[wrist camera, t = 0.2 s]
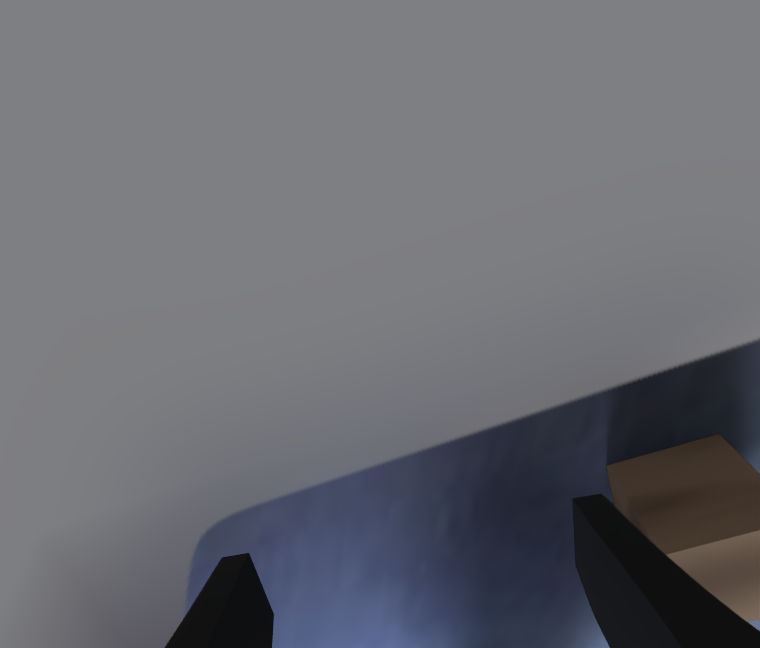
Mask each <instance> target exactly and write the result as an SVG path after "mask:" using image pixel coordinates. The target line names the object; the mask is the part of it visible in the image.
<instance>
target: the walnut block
mask: <svg viewBox="0 0 760 648" xmlns="http://www.w3.org/2000/svg"><path fill="white" fill-rule="evenodd" d="M606 467H607V472H608V477H609V483H610V488H611V493H612V498H613V503H614V506H615V507H616V508H617V509H618V510H619V511H620V512H621V513H622V514H623V515H624V516H625V517H626V518H627V519H628V520H629V521H630V522H631V523H632V524H633V525H634V526H635V527H636V528H638V529H639V530H640V531H641V532H642V533H643V534H644V535H645V536H646V537H647V538H648V539H649V540H650V541H651V542H652V543H654V544H655V545H656V546H657V547H658V548H659V549H660V550H661V551H662V552H663V553H664V554H666V555H667V556H668V557H669V558H670V559H671V560H672V561H674V562H675V563H676V564H677V565H678V566H679V567H681V568H682V569H683V570H684V571H685V572H686V573H687V574H689V575H690V576H691V577H692V578H693V579H694V580H696V581H697V582H698V583H699V584H700V585H701V586H703V587H704V588H705V589H706V590H707V591H709V592H710V593H711V594H712V595H714V596H715V597H716V598H717V599H719V600H720V601H721V602H722V603H724V604H725V605H726V606H727V607H729V608H730V609H731V610H732V611H734V612H735V613H736V614H738V615H739V616H740V617H741V618H743V619H744V620H745V621H747V622H749V621H753V620H757V619H760V474H759V473H758V472H757V471H756V470H755V469H754V468H753V467H752V466H751V465H750V464H749V463H748V462H747V461H746V460H745V459H744V458H743V457H742V456H741V455H740V454H739V453H738V452H737V451H736V450H735V449H734V448H733V447H732V446H731V445H730V444H729V443H728V442H727V441H726V440H725V439H724V438H723V437H722V436H721V435H720V434H717V435H713V436H710V437H706V438H703V439H699V440H696V441H692V442H689V443H685V444H681V445H678V446H674V447H671V448H667V449H664V450H660V451H657V452H653V453H649V454H646V455H642V456H639V457H635V458H632V459H628V460H624V461H621V462H617V463H614V464H610V465H607V466H606Z"/></svg>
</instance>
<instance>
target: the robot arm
mask: <svg viewBox="0 0 760 648" xmlns="http://www.w3.org/2000/svg"><path fill="white" fill-rule="evenodd" d="M573 520H574V542H575V563H576V568H577V571H578V573H579V576H580V579H581V582H582V584H583V587H584V590H585V593H586V595H587V598H588V601H589V603H590V606H591V608H592V611H593V614H594V616H595V618H596V620H597V622H598V624H599V626H600V628H601V630H602V632H603V634H604V636H605V638H606V641H607V643H608V645H609V647H610V648H760V631H759V630H757V629H756V628H755V627H753V626H752V625H751V624H749V623H748V622H747V621H745V620H744V619H743V618H741V617H740V616H739V615H738V614H736V613H735V612H734V611H732V610H731V609H730V608H729V607H727V606H726V605H725V604H724V603H722V602H721V601H720V600H719V599H717V598H716V597H715V596H714V595H712V594H711V593H710V592H709V591H707V590H706V589H705V588H704V587H703V586H701V585H700V584H699V583H698V582H697V581H696V580H694V579H693V578H692V577H691V576H690V575H689V574H687V573H686V572H685V571H684V570H683V569H682V568H681V567H679V566H678V565H677V564H676V563H675V562H674V561H672V560H671V559H670V558H669V557H668V556H667V555H666V554H664V553H663V552H662V551H661V550H660V549H659V548H658V547H657V546H656V545H655V544H654V543H652V542H651V541H650V540H649V539H648V538H647V537H646V536H645V535H644V534H643V533H642V532H641V531H640V530H639V529H638V528H636V527H635V526H634V525H633V524H632V523H631V522H630V521H629V520H628V519H627V518H626V517H625V516H624V515H623V514H622V513H621V512H620V511H619V510H618V509H617V508H616V507H615V506H614V505H613V504H612V503H611V502H610V501H609V500H608V499H607V498H606V497H605V496H603V495H602V494H597V495H591V496H585V497H579V498H574V499H573ZM273 620H274V614H273V611H272V609H271V606H270V604H269V601H268V599H267V596H266V594H265V591H264V589H263V586H262V584H261V582H260V579H259V577H258V574H257V572H256V569H255V567H254V564H253V562H252V559H251V557H250V554H249V553H246V554H240V555H234V556H228V557H223V558H222V559H221V560H220V562H219V563H218V565H217V566H216V568H215V569H214V571H213V573H212V574H211V576H210V577H209V579H208V581H207V582H206V584H205V585H204V587H203V589H202V590H201V592H200V594H199V595H198V597H197V598H196V600H195V602H194V603H193V605H192V606H191V608H190V609H189V611H188V613H187V614H186V616H185V617H184V619H183V621H182V622H181V624H180V625H179V627H178V628H177V630H176V631H175V633H174V634H173V636H172V637H171V639H170V640H169V642H168V643H167V645H166V647H165V648H272V637H273Z"/></svg>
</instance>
